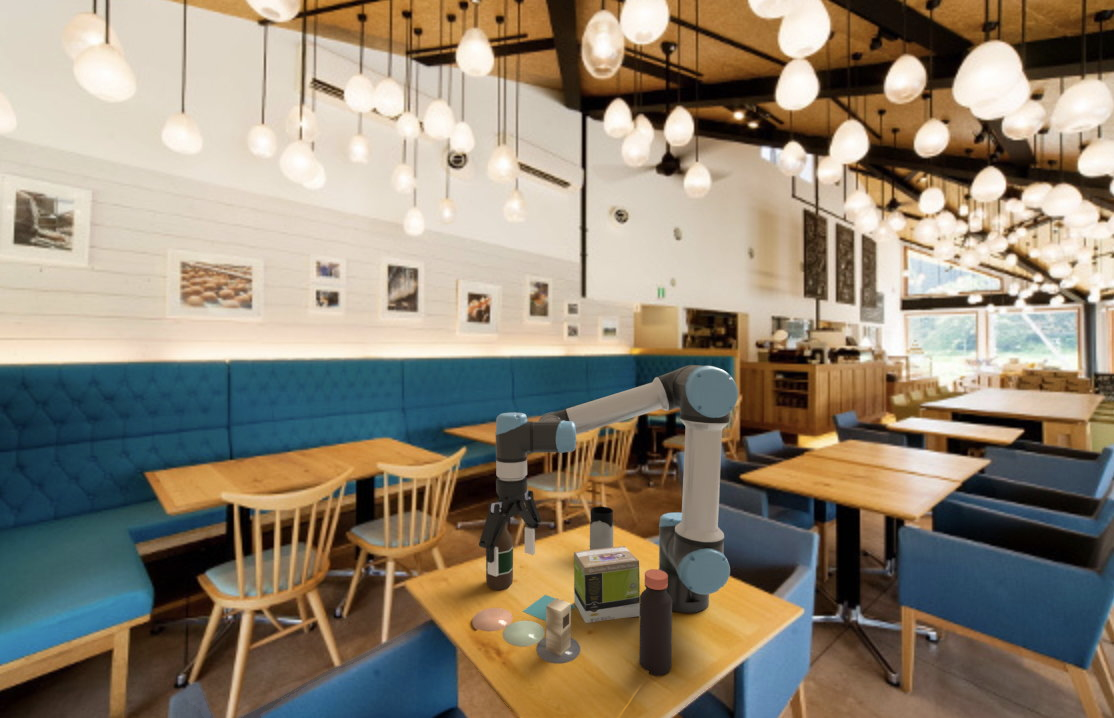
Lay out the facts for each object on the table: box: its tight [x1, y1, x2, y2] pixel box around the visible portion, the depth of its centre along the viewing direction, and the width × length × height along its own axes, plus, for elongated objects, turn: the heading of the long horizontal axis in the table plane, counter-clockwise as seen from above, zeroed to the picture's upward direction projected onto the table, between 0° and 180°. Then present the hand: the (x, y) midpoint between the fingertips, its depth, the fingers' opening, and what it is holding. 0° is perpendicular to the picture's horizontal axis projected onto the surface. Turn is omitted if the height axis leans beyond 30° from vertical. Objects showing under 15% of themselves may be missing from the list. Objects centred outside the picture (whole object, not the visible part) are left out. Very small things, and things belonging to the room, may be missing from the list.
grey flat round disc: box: [535, 636, 581, 664], centre depth 104 cm, size 10×10×1 cm
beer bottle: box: [485, 500, 514, 591], centre depth 134 cm, size 8×8×24 cm
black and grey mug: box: [589, 505, 614, 550], centre depth 157 cm, size 9×14×15 cm, turn 164°
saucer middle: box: [502, 620, 546, 647], centre depth 110 cm, size 10×10×1 cm
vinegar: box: [638, 568, 673, 677], centre depth 99 cm, size 7×7×20 cm
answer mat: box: [522, 594, 576, 622], centre depth 120 cm, size 10×10×1 cm
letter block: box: [545, 597, 572, 656], centre depth 104 cm, size 4×4×10 cm
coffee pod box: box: [573, 545, 641, 624], centre depth 121 cm, size 15×10×15 cm, turn 104°
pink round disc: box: [471, 607, 514, 632], centre depth 116 cm, size 10×10×1 cm
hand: (512, 563), depth 112 cm, fingers open, 13 cm apart
